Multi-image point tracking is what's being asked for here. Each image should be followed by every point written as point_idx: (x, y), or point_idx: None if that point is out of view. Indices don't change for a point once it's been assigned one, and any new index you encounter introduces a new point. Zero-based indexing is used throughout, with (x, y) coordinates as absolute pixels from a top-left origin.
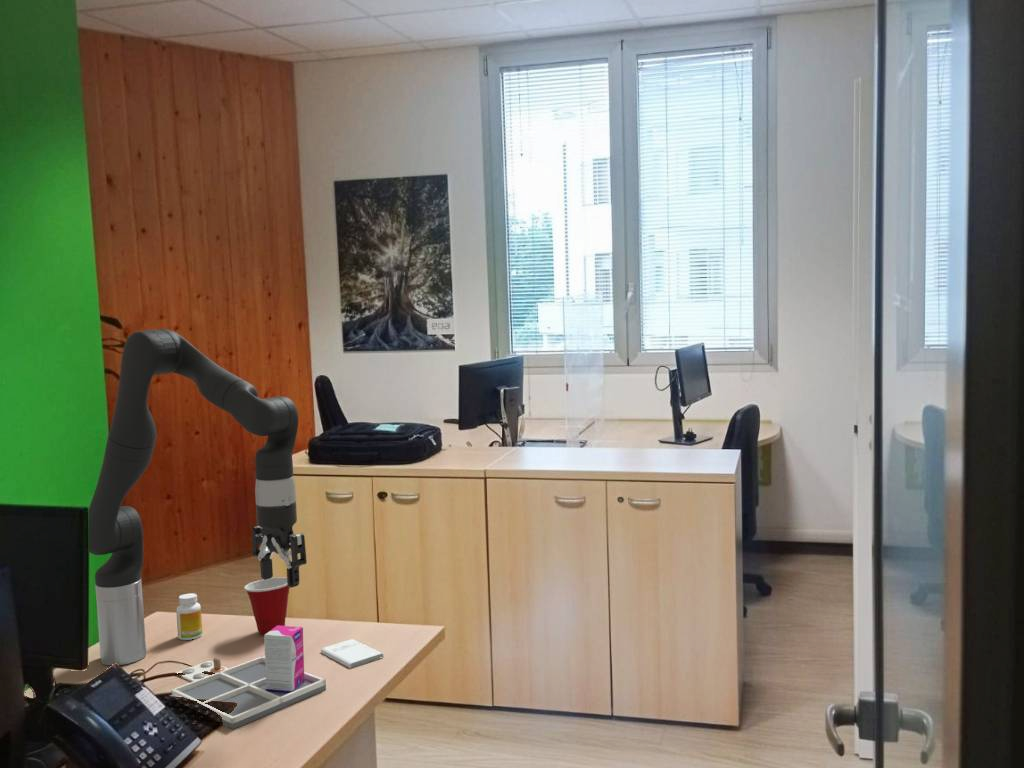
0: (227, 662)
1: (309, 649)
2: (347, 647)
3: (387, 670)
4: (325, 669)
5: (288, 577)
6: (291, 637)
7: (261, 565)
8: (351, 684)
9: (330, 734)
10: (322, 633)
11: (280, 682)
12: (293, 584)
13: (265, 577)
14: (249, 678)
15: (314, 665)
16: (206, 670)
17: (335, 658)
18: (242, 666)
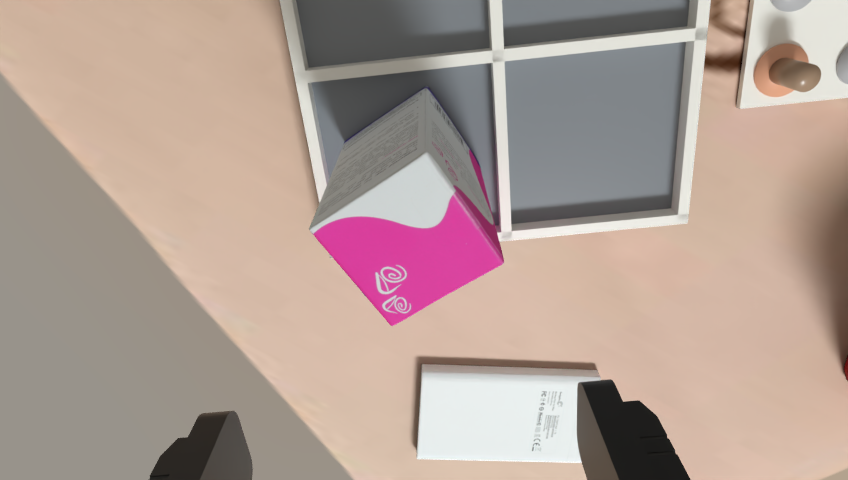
0: (814, 137)
1: (649, 361)
2: (538, 426)
3: (328, 414)
4: (473, 316)
5: (181, 474)
6: (312, 232)
7: (640, 474)
8: (314, 308)
9: (12, 82)
10: (718, 440)
11: (373, 127)
12: (176, 444)
13: (580, 402)
14: (584, 104)
15: (527, 311)
16: (816, 37)
17: (509, 370)
18: (682, 130)
